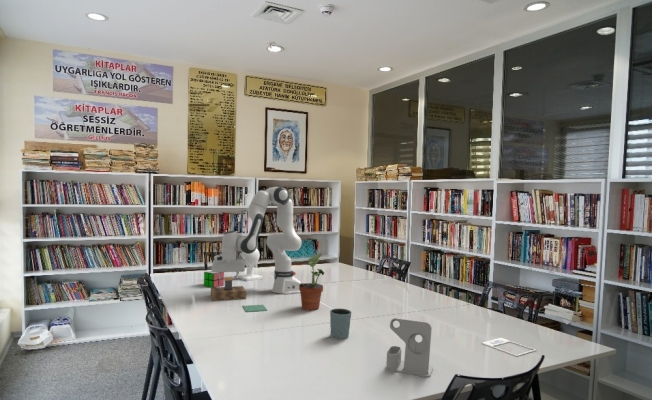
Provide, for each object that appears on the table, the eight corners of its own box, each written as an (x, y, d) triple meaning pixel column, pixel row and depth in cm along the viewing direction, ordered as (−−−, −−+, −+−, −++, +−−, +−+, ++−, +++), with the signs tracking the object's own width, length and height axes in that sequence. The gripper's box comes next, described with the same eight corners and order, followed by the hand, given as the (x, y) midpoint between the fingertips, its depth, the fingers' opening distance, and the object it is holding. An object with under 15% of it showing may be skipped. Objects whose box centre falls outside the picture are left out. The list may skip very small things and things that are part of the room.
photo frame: (500, 337, 204) (536, 349, 189) (500, 339, 204) (536, 351, 189) (481, 342, 196) (517, 355, 181) (481, 344, 196) (517, 357, 181)
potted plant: (329, 308, 250) (330, 248, 249) (311, 312, 239) (312, 251, 238) (310, 302, 260) (312, 246, 260) (292, 307, 249) (293, 248, 249)
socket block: (242, 295, 274) (242, 286, 274) (245, 300, 261) (246, 290, 261) (210, 297, 268) (210, 287, 268) (212, 302, 254) (212, 292, 254)
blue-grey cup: (329, 332, 206) (330, 307, 206) (350, 333, 206) (351, 308, 206) (329, 339, 196) (329, 313, 196) (351, 340, 196) (351, 314, 196)
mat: (263, 305, 252) (263, 304, 252) (267, 310, 241) (267, 310, 241) (242, 306, 248) (242, 305, 248) (246, 312, 237) (246, 311, 237)
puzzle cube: (224, 285, 302) (224, 271, 302) (213, 287, 293) (213, 273, 293) (214, 283, 307) (214, 269, 307) (203, 285, 299) (203, 271, 299)
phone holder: (384, 369, 164) (385, 323, 164) (390, 360, 174) (391, 316, 173) (429, 378, 158) (431, 330, 158) (433, 367, 167) (434, 322, 167)
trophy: (237, 278, 328) (238, 246, 327) (252, 276, 337) (253, 245, 337) (246, 281, 317) (247, 248, 317) (262, 279, 327) (263, 247, 326)
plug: (231, 296, 267) (231, 276, 267) (232, 297, 263) (232, 278, 263) (224, 296, 266) (224, 277, 266) (224, 298, 262) (225, 278, 261)
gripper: (244, 256, 271) (243, 277, 271) (211, 256, 264) (210, 278, 263) (246, 257, 265) (245, 279, 265) (212, 257, 258) (211, 280, 258)
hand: (227, 279), depth 264 cm, fingers open, 8 cm apart
